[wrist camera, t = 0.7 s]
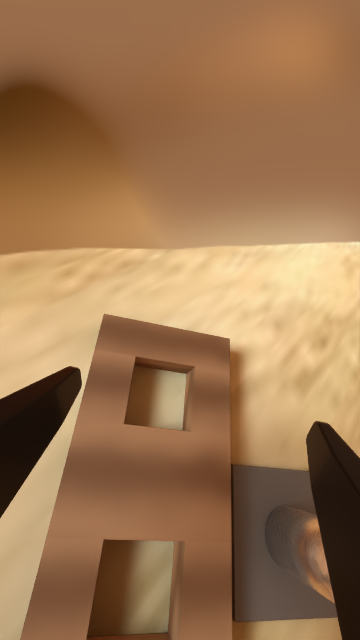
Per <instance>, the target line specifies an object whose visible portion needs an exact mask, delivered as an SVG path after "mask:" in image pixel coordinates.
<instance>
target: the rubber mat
mask: <svg viewBox="0 0 360 640" xmlns="http://www.w3.org/2000/svg"><path fill="white" fill-rule="evenodd" d="M231 504H232V616H233V620H234V621H235V622H251V621H272V620H292V619H312V618H332V617H338V616H337V611H336V607H335V603H333V602H332V601H330V600H329V599H327V598H326V597H324V596H323V595H321V594H320V593H318V592H317V591H315V590H314V589H312V588H311V587H309V586H308V585H306V584H305V583H304V582H302V581H301V580H299V579H298V578H296V577H295V576H293V575H292V574H290V573H289V572H287V571H286V570H284V569H283V568H281V567H280V566H278V565H277V564H276V563H275V561H274V560H273V559H272V557H271V556H270V554H269V551H268V549H267V546H266V541H265V525H266V521H267V518H268V516H269V514H270V513H271V511H272V510H273V509H274V508H276V507H278V506H281V505H287V506H290V507H293V508H296V509H300V510H303V511H306V512H309V513H312V514H315V515H316V510H315V505H314V500H313V495H312V490H311V484H310V475H309V471H299V470H288V469H277V468H266V467H254V466H243V465H232V464H231Z"/></svg>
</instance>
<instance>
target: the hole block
mask: <svg viewBox="0 0 360 640" xmlns="http://www.w3.org/2000/svg"><path fill="white" fill-rule="evenodd" d="M134 365H137V366H143V367H149V368H155V369H161V370H167V371H174V372H180V373H186V374H187V377H186V390H185V404H184V418H183V431H180V430H172V429H163V428H154V427H145V426H136V425H128V424H124V420H125V414H126V408H127V403H128V397H129V391H130V385H131V380H132V374H133V368H134ZM104 539H108V540H156V541H174V555H173V569H172V583H171V596H170V610H169V624H168V633H156V634H138V635H120V636H102V637H87V632H88V626H89V620H90V615H91V609H92V603H93V598H94V592H95V586H96V580H97V575H98V569H99V563H100V557H101V552H102V546H103V540H104ZM20 640H232V560H231V439H230V339H228V338H223V337H218V336H213V335H208V334H203V333H198V332H193V331H188V330H183V329H178V328H173V327H168V326H163V325H158V324H153V323H148V322H143V321H138V320H133V319H128V318H123V317H118V316H113V315H108V314H104V316H103V320H102V323H101V327H100V331H99V335H98V339H97V343H96V347H95V351H94V355H93V358H92V362H91V366H90V370H89V374H88V378H87V382H86V386H85V390H84V393H83V397H82V401H81V405H80V409H79V413H78V417H77V421H76V425H75V428H74V432H73V436H72V440H71V444H70V448H69V452H68V456H67V460H66V464H65V467H64V471H63V475H62V479H61V483H60V487H59V491H58V495H57V499H56V502H55V506H54V510H53V514H52V518H51V522H50V526H49V530H48V534H47V537H46V541H45V545H44V549H43V553H42V557H41V561H40V565H39V569H38V573H37V576H36V580H35V584H34V588H33V592H32V596H31V600H30V604H29V608H28V611H27V615H26V619H25V623H24V627H23V631H22V635H21V639H20Z"/></svg>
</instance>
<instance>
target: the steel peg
mask: <svg viewBox="0 0 360 640" xmlns="http://www.w3.org/2000/svg"><path fill="white" fill-rule="evenodd" d="M265 541H266V546H267V549H268V551H269V554H270V556H271V557H272V559H273V560H274V561H275V563H276V564H277V565H278V566H280V567H281V568H283V569H284V570H286V571H287V572H289V573H290V574H292V575H293V576H295V577H296V578H298V579H299V580H301V581H302V582H304V583H305V584H306V585H308V586H309V587H311V588H312V589H314V590H315V591H317V592H318V593H320V594H321V595H323V596H324V597H326V598H327V599H329V600H330V601H332V602H333V603H335V602H334V597H333V592H332V587H331V582H330V578H329V573H328V568H327V563H326V558H325V553H324V549H323V544H322V539H321V534H320V529H319V524H318V520H317V515H315V514H312V513H309V512H306V511H303V510H300V509H296V508H293V507H290V506H287V505H281V506H278V507H276V508H274V509H273V510H272V511H271V513H270V514H269V516H268V518H267V521H266V525H265Z"/></svg>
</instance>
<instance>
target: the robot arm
mask: <svg viewBox="0 0 360 640" xmlns="http://www.w3.org/2000/svg"><path fill="white" fill-rule="evenodd" d="M81 386H82V380H81V372H80V369H79V368H76V367H72V366H69V367H66V368H64V369H62V370H60V371H58V372H56V373H54V374H52V375H50V376H47V377H45V378H43V379H41V380H39V381H37V382H35V383H33V384H31V385H29V386H27V387H25V388H23V389H20V390H18V391H16V392H14V393H12V394H10V395H8V396H6V397H4V398H2V399H0V518H1V516H2V515H3V513H4V512H5V510H6V509H7V507H8V506H9V504H10V503H11V501H12V500H13V498H14V497H15V495H16V494H17V492H18V491H19V489H20V487H21V486H22V484H23V483H24V481H25V480H26V478H27V477H28V475H29V474H30V472H31V471H32V469H33V468H34V466H35V465H36V463H37V462H38V460H39V459H40V457H41V456H42V454H43V453H44V451H45V449H46V448H47V446H48V445H49V443H50V442H51V440H52V439H53V437H54V436H55V434H56V433H57V431H58V430H59V428H60V427H61V425H62V423H63V422H64V420H65V418H66V416H67V414H68V412H69V410H70V408H71V406H72V405H73V403H74V401H75V399H76V397H77V395H78V393H79V391H80V389H81ZM306 444H307V454H308V464H309V475H310V484H311V490H312V495H313V500H314V505H315V510H316V515H317V520H318V524H319V529H320V534H321V539H322V544H323V549H324V553H325V558H326V563H327V568H328V573H329V578H330V582H331V587H332V592H333V597H334V602H335V607H336V611H337V616H338V621H339V626H340V631H341V636H342V640H360V458H359V457H358V456H357V455H356V453H355V452H354V451H353V450H352V449H351V448H350V447H349V446H348V445H347V443H346V442H345V441H344V440H343V439H342V438H341V437H340V436H339V435H338V433H337V432H336V431H335V430H334V429H333V428H332V427H331V426H330V425H329V424H328V423H324V422H320V421H315V422H314V423H313V425H312V427H311V429H310V431H309V433H308V435H307V438H306Z"/></svg>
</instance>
